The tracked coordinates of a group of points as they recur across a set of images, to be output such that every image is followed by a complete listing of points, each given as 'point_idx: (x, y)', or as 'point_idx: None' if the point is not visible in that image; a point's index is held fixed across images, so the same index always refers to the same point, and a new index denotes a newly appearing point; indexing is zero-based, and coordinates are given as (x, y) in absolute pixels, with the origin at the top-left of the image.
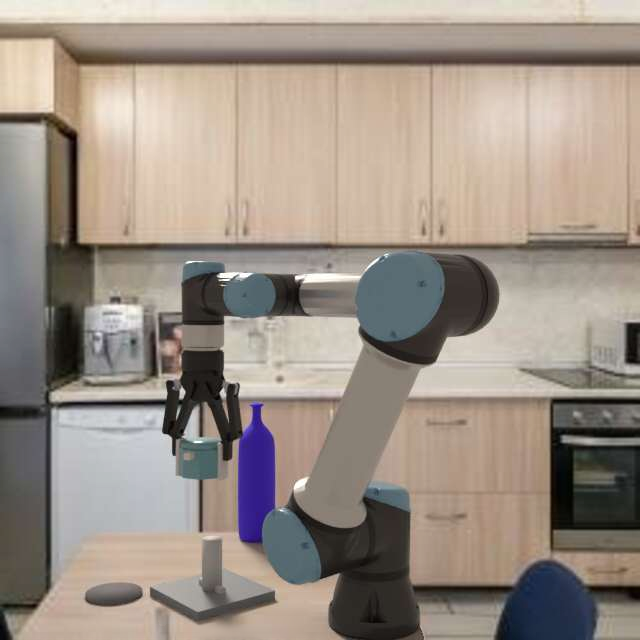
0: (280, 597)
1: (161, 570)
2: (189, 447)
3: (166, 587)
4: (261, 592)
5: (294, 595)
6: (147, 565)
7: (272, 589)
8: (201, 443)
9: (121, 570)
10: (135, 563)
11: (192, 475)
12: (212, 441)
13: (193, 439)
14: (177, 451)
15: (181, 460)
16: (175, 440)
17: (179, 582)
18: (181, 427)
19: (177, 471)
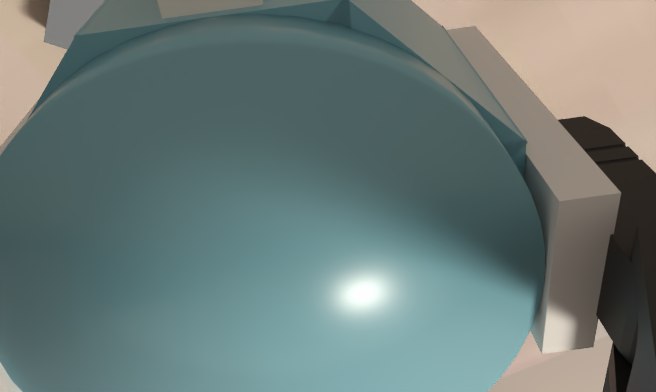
0: (50, 53)
1: (527, 70)
2: (246, 25)
3: None
4: (65, 3)
5: (29, 88)
6: (592, 85)
7: (57, 45)
8: (154, 200)
9: (653, 7)
10: (637, 82)
11: None
12: (142, 354)
13: (426, 331)
14: (532, 121)
15: (404, 17)
16: (637, 217)
17: None
18: (642, 382)
19: (467, 41)
